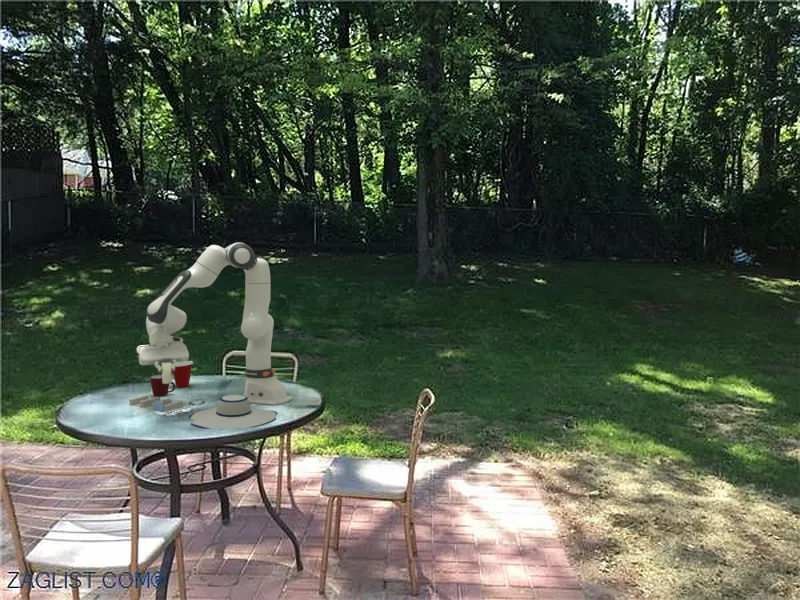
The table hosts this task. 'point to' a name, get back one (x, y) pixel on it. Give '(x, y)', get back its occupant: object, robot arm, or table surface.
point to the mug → (160, 386)
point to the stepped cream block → (155, 403)
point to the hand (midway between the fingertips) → (167, 370)
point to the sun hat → (232, 414)
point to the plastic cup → (182, 373)
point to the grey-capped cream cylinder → (166, 371)
